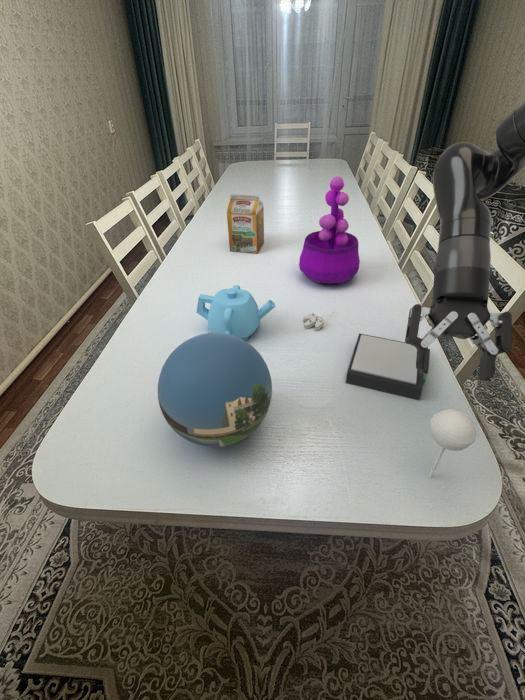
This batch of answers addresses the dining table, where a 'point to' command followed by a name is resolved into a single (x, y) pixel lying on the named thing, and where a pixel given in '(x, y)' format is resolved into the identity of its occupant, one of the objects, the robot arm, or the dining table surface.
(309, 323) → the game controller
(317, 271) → the decorative plant
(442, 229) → the robot arm
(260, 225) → the milk carton
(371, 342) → the scale
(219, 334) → the decorative sphere
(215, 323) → the teapot
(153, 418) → the dining table surface
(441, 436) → the lollipop
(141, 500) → the dining table surface
